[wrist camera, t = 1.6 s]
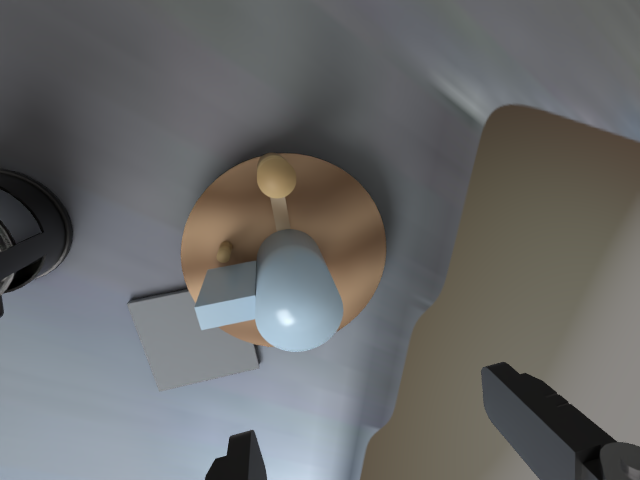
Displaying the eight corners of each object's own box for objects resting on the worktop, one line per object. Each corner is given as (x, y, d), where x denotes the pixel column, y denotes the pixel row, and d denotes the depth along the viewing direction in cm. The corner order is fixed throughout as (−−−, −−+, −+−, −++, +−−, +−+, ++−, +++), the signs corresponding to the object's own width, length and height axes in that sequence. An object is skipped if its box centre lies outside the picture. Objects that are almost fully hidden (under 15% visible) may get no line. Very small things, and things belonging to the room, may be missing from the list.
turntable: (157, 169, 27) (116, 184, 19) (371, 135, 29) (414, 136, 21) (212, 356, 33) (198, 427, 25) (387, 316, 35) (425, 370, 27)
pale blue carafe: (315, 223, 29) (338, 266, 21) (324, 281, 31) (347, 341, 23) (203, 244, 28) (179, 297, 20) (219, 302, 30) (203, 373, 22)
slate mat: (129, 300, 31) (126, 303, 31) (238, 278, 32) (238, 281, 32) (161, 387, 34) (159, 391, 34) (259, 364, 36) (259, 368, 35)
